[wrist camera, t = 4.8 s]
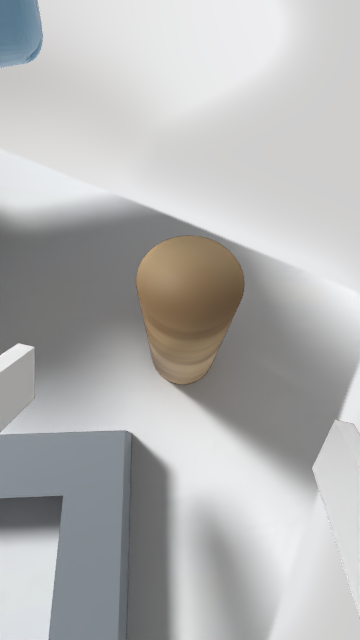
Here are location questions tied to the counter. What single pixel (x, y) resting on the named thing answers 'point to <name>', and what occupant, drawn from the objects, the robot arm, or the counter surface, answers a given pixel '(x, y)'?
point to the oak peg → (187, 303)
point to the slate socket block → (80, 522)
